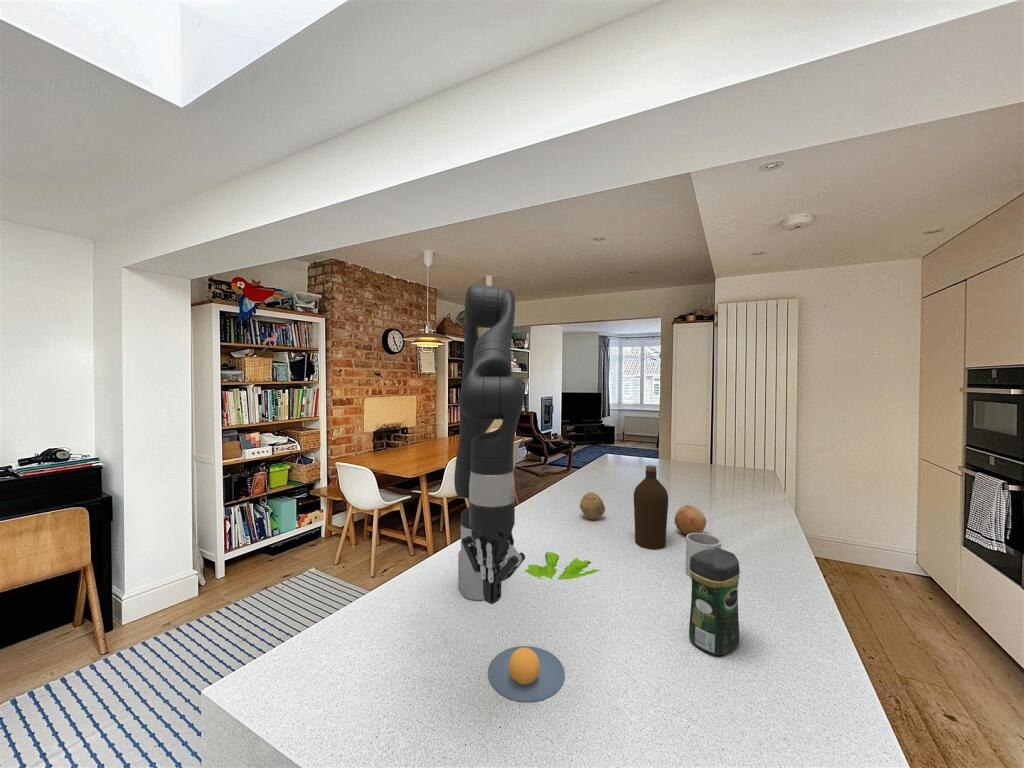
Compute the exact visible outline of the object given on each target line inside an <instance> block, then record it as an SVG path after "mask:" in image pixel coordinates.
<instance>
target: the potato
mask: <svg viewBox="0 0 1024 768" xmlns="http://www.w3.org/2000/svg"><path fill="white" fill-rule="evenodd" d="M579 508H580V510H581V512H582V513H583V515H584V516H585V517H586V518H587V519H589V520H591V521H592V520H594V521H595V520H596V519H597V518H599V517H601V516H603V515H604V514H605V512H606V507H605V504H604V501H603V500H602V498H601V497H600V496H599V495H598V494H597V493H595V492H587V493H585V494H584V495H583V496H582V498H581V500H580V503H579Z"/></svg>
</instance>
